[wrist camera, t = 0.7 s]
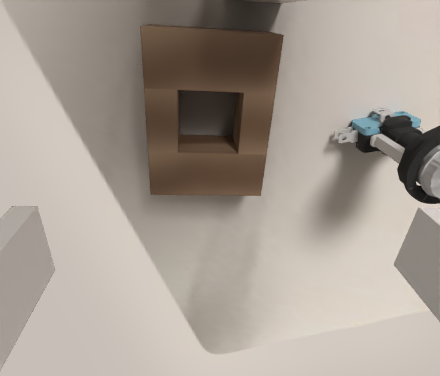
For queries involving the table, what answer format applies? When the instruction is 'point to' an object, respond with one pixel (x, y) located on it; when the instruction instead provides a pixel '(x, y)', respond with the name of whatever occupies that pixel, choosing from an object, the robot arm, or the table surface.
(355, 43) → the table surface
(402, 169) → the push button
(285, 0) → the square bar bit
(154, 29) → the socket block
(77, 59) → the table surface
